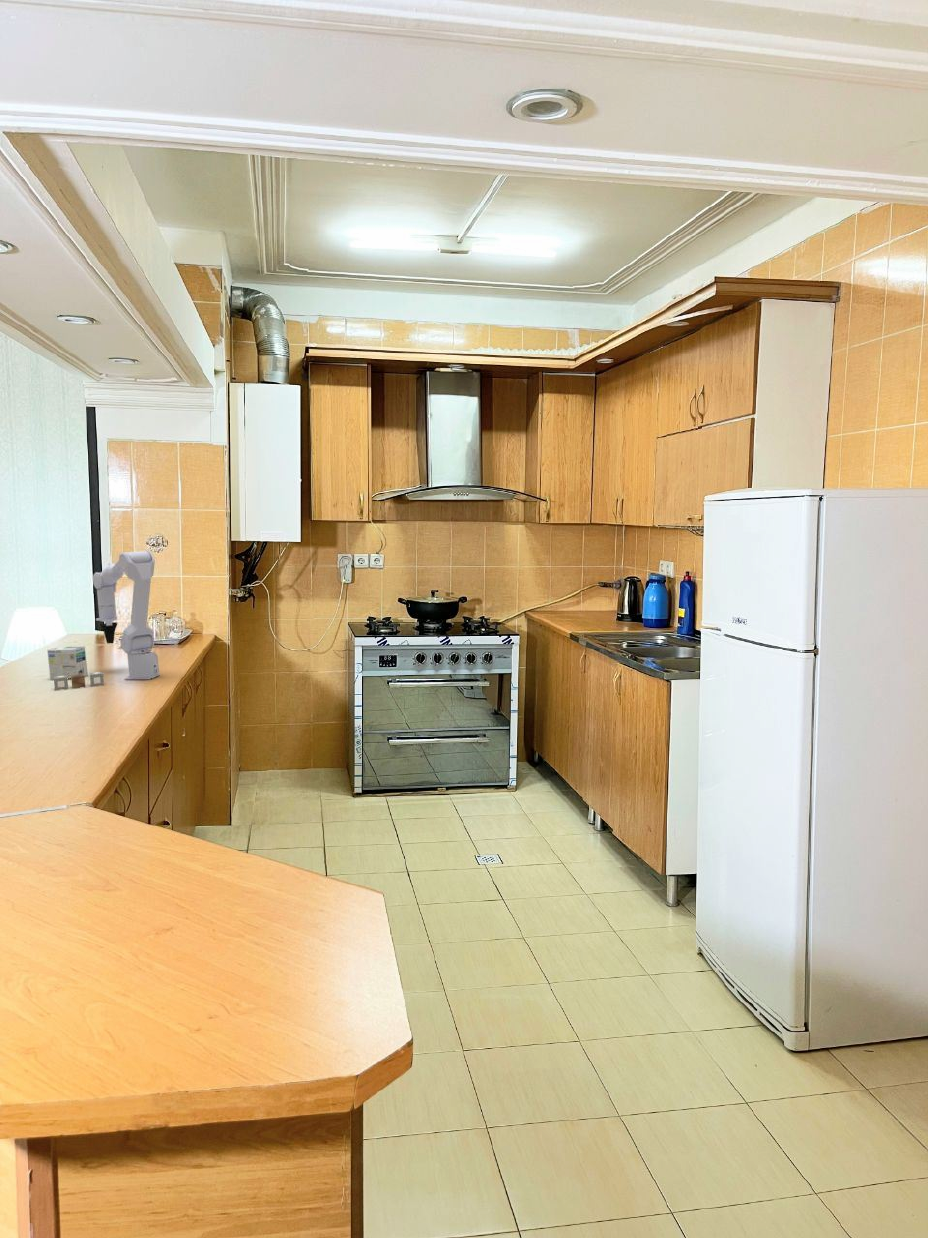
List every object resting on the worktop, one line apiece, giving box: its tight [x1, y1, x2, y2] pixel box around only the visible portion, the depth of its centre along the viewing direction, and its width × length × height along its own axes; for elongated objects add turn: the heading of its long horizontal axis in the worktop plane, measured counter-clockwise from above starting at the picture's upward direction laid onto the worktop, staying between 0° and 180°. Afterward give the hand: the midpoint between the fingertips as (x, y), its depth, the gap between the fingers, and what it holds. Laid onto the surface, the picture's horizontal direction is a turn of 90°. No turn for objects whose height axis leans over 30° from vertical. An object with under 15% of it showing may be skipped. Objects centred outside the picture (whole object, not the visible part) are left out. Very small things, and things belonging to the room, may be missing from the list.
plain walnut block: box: [70, 674, 86, 689], centre depth 295 cm, size 4×4×4 cm
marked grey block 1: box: [53, 675, 69, 691], centre depth 293 cm, size 4×4×4 cm
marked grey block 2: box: [89, 671, 105, 687], centre depth 298 cm, size 4×4×4 cm
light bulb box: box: [47, 645, 89, 680], centre depth 312 cm, size 11×7×11 cm, turn 84°
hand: (110, 643), depth 320 cm, fingers closed
